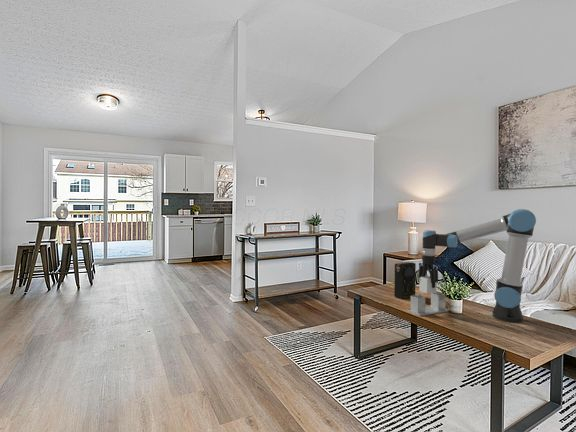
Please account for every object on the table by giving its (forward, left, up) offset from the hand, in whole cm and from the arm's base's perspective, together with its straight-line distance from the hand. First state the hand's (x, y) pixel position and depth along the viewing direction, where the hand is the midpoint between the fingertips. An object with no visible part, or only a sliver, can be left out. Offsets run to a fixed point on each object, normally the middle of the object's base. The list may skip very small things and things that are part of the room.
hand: (427, 291), depth 202 cm
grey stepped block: (0, 0, -12) cm, 13 cm away
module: (0, 0, 0) cm, 0 cm away
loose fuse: (-9, -17, -13) cm, 23 cm away
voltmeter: (-11, -32, -13) cm, 36 cm away
